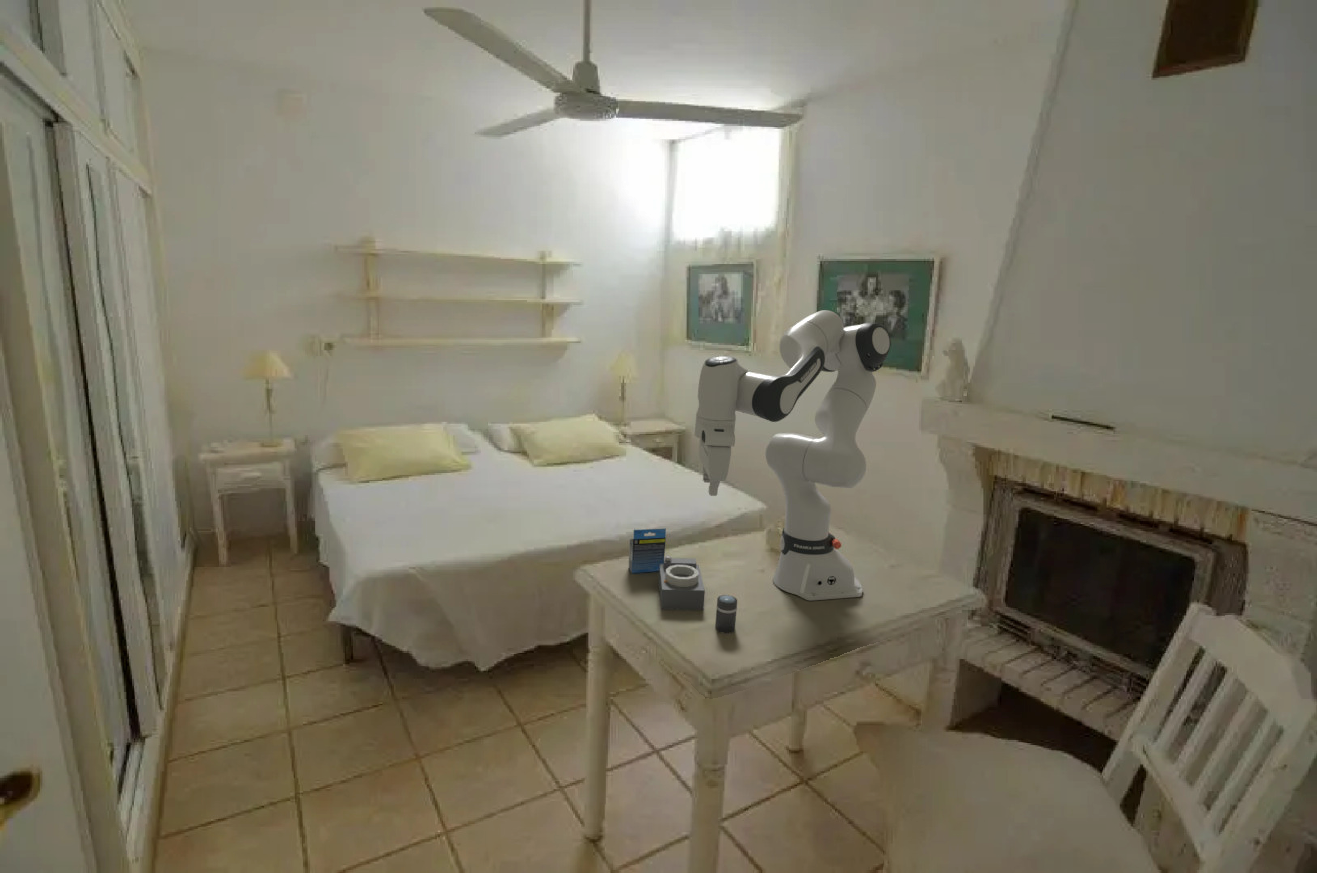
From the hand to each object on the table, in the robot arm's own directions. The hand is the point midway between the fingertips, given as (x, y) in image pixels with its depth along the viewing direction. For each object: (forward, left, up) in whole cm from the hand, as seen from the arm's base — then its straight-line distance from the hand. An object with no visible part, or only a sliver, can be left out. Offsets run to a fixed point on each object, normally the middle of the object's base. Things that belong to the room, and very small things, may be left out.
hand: (709, 488), depth 152 cm
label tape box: (+13, -18, -30) cm, 37 cm away
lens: (-4, +11, -29) cm, 31 cm away
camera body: (+5, -4, -29) cm, 30 cm away
